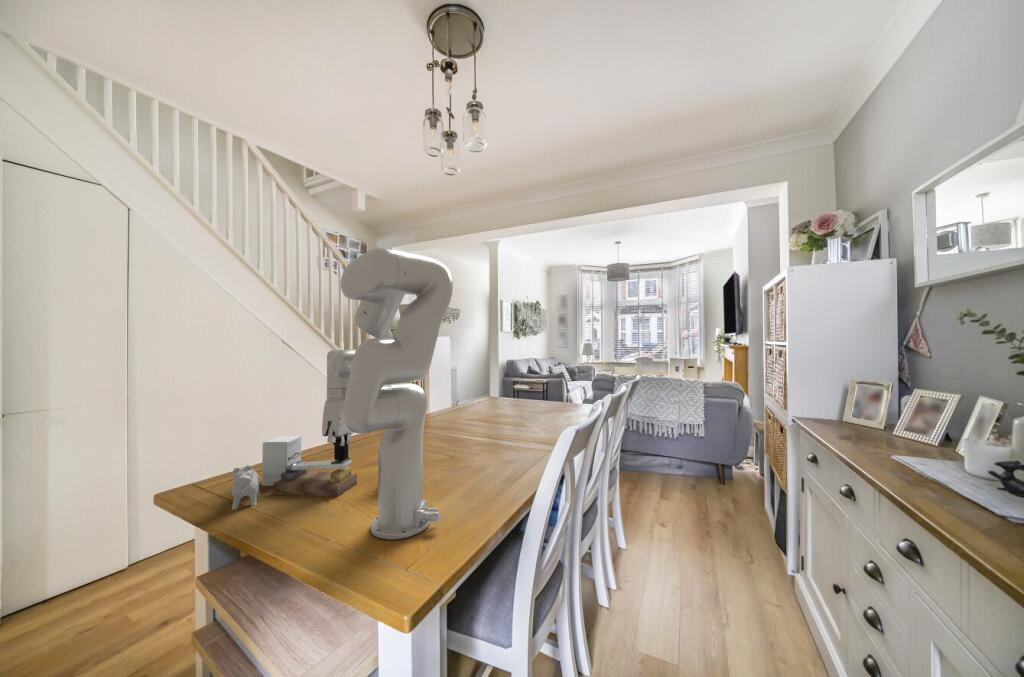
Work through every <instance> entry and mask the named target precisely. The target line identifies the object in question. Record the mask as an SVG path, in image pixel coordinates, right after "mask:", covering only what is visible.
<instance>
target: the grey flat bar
mask: <svg viewBox="0 0 1024 677" xmlns="http://www.w3.org/2000/svg"><path fill="white" fill-rule="evenodd" d="M350 457H351V456H350ZM350 457H349V456H348V458H347V459H345V460H335V459H328V460H313V461H302V460H301V461H298V462H295V463H293V464H291V465H289V466H287V467H286V468H285V470H286V471H287V472H289V471H291V470H306V471H307V470H319V469H321V470H323V469H335V468H336V469H339V468H341V467H348V465H350V464H351V463H352V458H350Z"/></svg>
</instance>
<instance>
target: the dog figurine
mask: <svg viewBox="0 0 1024 677" xmlns="http://www.w3.org/2000/svg"><path fill="white" fill-rule="evenodd" d="M231 478H232V480H233V483H232V486H231V489H230V491H231V495H232V507H231V510H232V511H234V510H233V509H235V510H237V508H238V509H239V505H240V502H241V500H243V499H244V497H248V498H249V500H250V505H251V507H254V505H255V506H257V505H258V504H257V497H260V475H259V473H257V471H255V470H254V469H253V466H252V465H251V464H247V465H245V466H242V467H237V466H236V467H234V468H233V471H232V477H231ZM240 499H241V500H240Z"/></svg>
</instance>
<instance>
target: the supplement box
mask: <svg viewBox="0 0 1024 677" xmlns="http://www.w3.org/2000/svg"><path fill="white" fill-rule="evenodd" d="M261 458H262V460H261V461H262V465H261V466H262V469H261V470H262V471H261V476H262V477H261V486H264V487H265V486H268V487H270V486H271V487H272V486H273V482H276V481H278V480H280V479H281V473H283V472H285V471H286V470H285V468H286V467H287V466H289V465H291V464H293V463H295V462H298V461H301V462H302V436H301V435H297V436H295V435H286V436H285V435H284V436H277V437H274V438H271V439H269V440H266V441H263V442H262V457H261Z"/></svg>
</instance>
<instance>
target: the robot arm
mask: <svg viewBox="0 0 1024 677" xmlns="http://www.w3.org/2000/svg"><path fill="white" fill-rule="evenodd" d="M453 282H454V281H453V277H452V274H451V271H450V270H449V268H448V267H447V265H445V264H443V263H442V262H441V261H439V260H437V259H435V258H431V257H429V256H424V255H419V254H416V253H411V252H405V251H400V250H395V249H389V248H385V247H384V248H383V247H378V248H377V247H375V248H373V249H370V250H369V251H366V252H365V253H363V254H361V255H359V256H358V257H356V258H353V260H351V261H350V262H349V263H348V265H346V266H345V269H344V270H343V272H342V275H341V279H340V288H341V289H340V290H341V292H342V294H343V295H344V297H346V298H347V299H349V300H355V301H360V302H359V305H358V306H357V310H356V312H355V314H354V323H355V324H356V326H357V327H358V328H359V330H361V331H362V332H363V333H365V334H368V335H369V336H371V337H374V338H369V339H368V338H367V339H366V340H364V341H362V342H361V343H360V344H359V345H358V346H357V348H355V349H331V350H329V351H328V352H327V355H326V400H325V401H324V407H323V411H322V412H323V414H322V422H321V423H322V424H321V434H322V436H323V437H327V440H326V441H327V443H332V445H333V446H334V450H333V451H334V452H333V453H334V457H333V458H334V459H333V460H345V459H347V458H348V457H349V444H350V440H351V436H352V435H353V434H354V433H355V434H368V433H374V432H377V431H382V430H384V433H383V435H382V436H381V439H380V441H379V445H378V454H377V458H378V459H377V461H378V462H377V463H378V464H377V465H378V466H377V469H378V470H377V471H378V477H377V478H378V479H377V481H378V482H377V485H378V486H377V487H378V488H377V489H378V490H377V491H378V494H377V497H378V502H377V503H378V504H377V505H378V506H377V507H378V508H377V509H378V513H377V514H378V515H377V516H376V517H375V518H374V519H372V521H371V523H370V532H371V534H372V535H373V536H374V537H377V539H378V538H379V539H381V540H382V539H383V540H401V539H405V538H410V537H413V536H415V535H418V534H420V533H421V532H422V531H424V530H425V529H427V527H428V526H429V525H430V522H431V523H432V522H433V523H434V522H435V523H437V522H438V523H439V522H440V520H441V512H440V510H439V508H438V507H429V506H428V500H426V499H424V493H423V492H424V485H423V483H424V479H423V478H424V475H423V474H424V473H423V472H424V470H423V468H424V462H423V459H424V455H423V454H424V428H425V422H426V421H425V420H426V415H427V410H428V398H427V393H426V391H425V390H424V389H423V388H422V387H421V386H420V385H418V384H416V383H414V382H418V381H421V380H423V379H424V378H426V376H427V375H428V374H429V370H430V367H431V365H432V361H433V356H434V352H435V349H436V344H437V340H438V337H439V333H440V328H441V325H442V322H443V320H444V318H445V316H446V313H447V310H448V308H449V307H450V303H451V300H452V296H453V288H454V284H453ZM406 295H413V296H414V295H415V296H416V298H415V299H414V300H412V301H411V302H410V303H409V304H408V305H407V306H406V308H405V309H404V310H403V312H402V313H401V314H400V316H399V318H398V323H397V324H398V325H397V329H396V331H395V335H393V332H392V330H391V328H390V326H391V325H392V323H393V321H394V318H395V317H396V314H397V313H398V310H399V309H400V305H401V303H402V302H403V299H404V298H405V296H406Z"/></svg>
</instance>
